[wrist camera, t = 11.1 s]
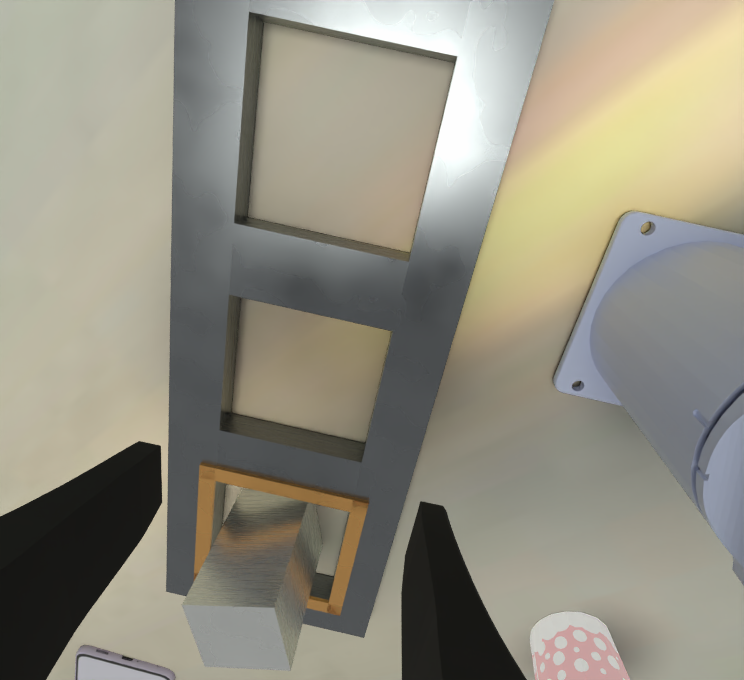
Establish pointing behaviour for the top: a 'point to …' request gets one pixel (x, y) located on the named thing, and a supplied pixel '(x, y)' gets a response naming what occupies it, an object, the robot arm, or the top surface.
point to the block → (256, 583)
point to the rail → (324, 272)
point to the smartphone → (115, 667)
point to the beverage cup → (574, 649)
